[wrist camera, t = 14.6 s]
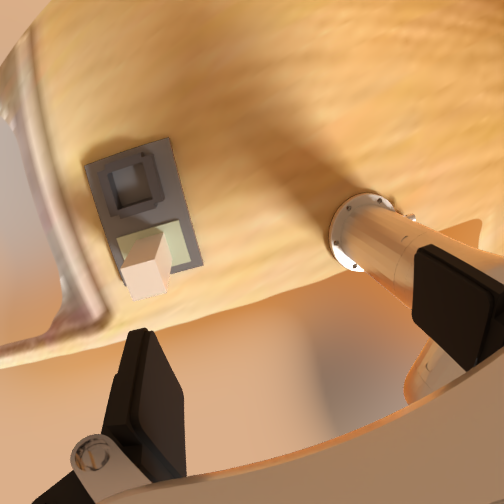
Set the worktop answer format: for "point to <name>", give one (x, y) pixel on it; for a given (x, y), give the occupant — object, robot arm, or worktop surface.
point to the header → (144, 203)
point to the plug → (147, 267)
